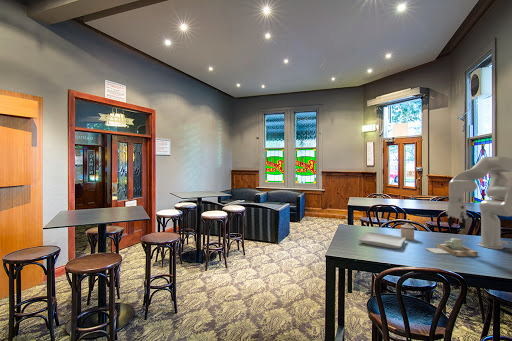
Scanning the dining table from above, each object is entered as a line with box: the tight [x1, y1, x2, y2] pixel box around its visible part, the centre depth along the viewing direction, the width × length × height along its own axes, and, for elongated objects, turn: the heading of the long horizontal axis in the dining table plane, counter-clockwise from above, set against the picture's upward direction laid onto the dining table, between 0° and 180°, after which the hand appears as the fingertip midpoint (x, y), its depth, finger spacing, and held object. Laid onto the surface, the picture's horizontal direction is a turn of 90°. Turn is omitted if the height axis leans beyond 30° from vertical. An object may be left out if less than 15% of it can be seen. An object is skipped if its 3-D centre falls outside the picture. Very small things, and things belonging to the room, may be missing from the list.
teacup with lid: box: [400, 222, 415, 241], centre depth 193 cm, size 12×9×12 cm
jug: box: [443, 237, 463, 250], centre depth 162 cm, size 10×6×8 cm, turn 88°
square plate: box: [357, 231, 406, 249], centre depth 182 cm, size 27×27×4 cm
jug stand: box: [436, 243, 479, 257], centre depth 162 cm, size 14×16×2 cm
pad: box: [425, 247, 450, 255], centre depth 162 cm, size 9×9×1 cm
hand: (456, 226), depth 162 cm, fingers open, 9 cm apart
